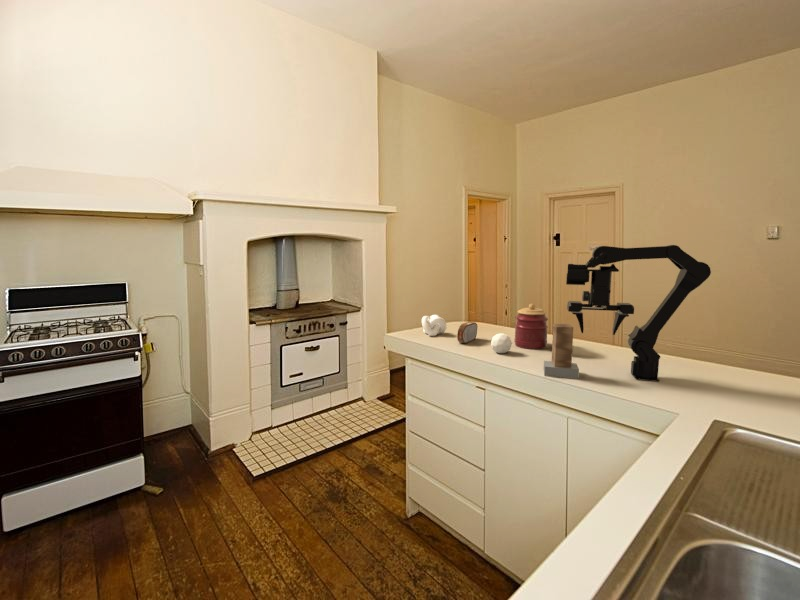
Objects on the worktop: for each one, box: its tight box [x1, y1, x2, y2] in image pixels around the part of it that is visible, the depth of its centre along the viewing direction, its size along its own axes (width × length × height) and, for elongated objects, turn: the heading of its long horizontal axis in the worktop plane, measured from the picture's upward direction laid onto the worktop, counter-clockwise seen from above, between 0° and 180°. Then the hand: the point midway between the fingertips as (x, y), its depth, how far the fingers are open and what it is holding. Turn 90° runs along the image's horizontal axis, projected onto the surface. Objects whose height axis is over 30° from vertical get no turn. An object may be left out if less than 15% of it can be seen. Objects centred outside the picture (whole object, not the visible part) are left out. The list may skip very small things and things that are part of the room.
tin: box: [456, 321, 478, 344], centre depth 176 cm, size 15×3×8 cm, turn 144°
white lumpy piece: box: [421, 314, 448, 337], centre depth 190 cm, size 11×12×9 cm
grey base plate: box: [543, 360, 580, 380], centre depth 131 cm, size 10×7×3 cm
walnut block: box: [551, 323, 574, 368], centre depth 130 cm, size 5×5×13 cm
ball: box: [490, 333, 513, 354], centre depth 157 cm, size 8×8×8 cm
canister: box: [514, 303, 549, 350], centre depth 167 cm, size 13×13×18 cm
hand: (597, 333), depth 131 cm, fingers open, 9 cm apart
